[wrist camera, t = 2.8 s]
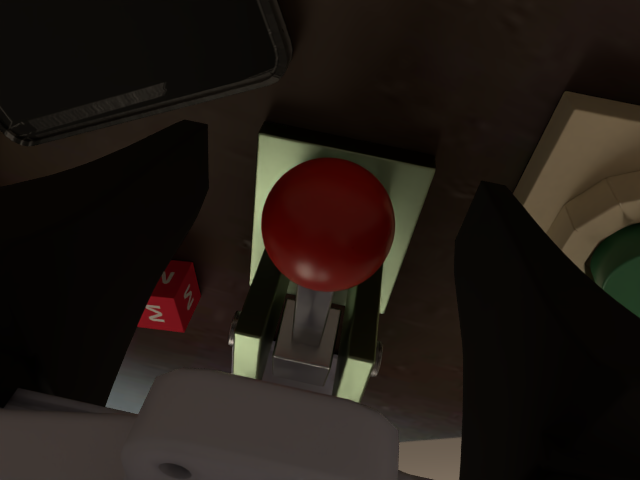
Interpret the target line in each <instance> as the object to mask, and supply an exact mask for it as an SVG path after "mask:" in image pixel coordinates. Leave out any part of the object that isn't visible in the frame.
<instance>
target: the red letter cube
mask: <svg viewBox="0 0 640 480" xmlns="http://www.w3.org/2000/svg"><path fill="white" fill-rule="evenodd" d="M200 297H201V294H200V290H199V286H198V282H197V278H196V274H195V270H194V266H193V262H185V261H176V260H171V261H170V263H169V264H168V266H167V268H166V269H165V271H164V272H163V274H162V276H161V277H160V279H159V281H158V283H157V285H156V287H155V288H154V290H153V292H152V294H151V297H150V299H149V301H148V303H147V305H146V308H145V310H144V312H143V314H142V316H141V319H140V321H139V323H138V325H137V327H143V328H151V329H160V330H168V331H176V332H185V330H186V328H187V325H188V323H189V321H190V319H191V317H192V315H193V312H194V310H195V308H196V306H197V304H198V302H199V299H200Z"/></svg>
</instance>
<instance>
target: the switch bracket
mask: <svg viewBox="0 0 640 480" xmlns="http://www.w3.org/2000/svg"><path fill="white" fill-rule="evenodd" d="M316 158H340V159H344V160H348V161H351V162H354V163H356V164H358V165H360V166H362V167H364V168H365V169H367V170H368V171H369V172H370V173H372V174H373V175H374V176H375V177H376V178H377V179H378V180H379V181H380V183H381V184H382V185H383V187H384V188H385V190H386V191H387V193H388V195H389V197H390V200H391V202H392V206H393V209H394V214H395V235H394V240H393V244H392V247H391V249H390V252H389V254H388V256H387V258H386V259H385V261H384V263H383V264H382V265H381V267H380V268H379V269H378V270H377V271H376V272H375V273H374V274H373V275H372V276H371V277H370V278H368V279H367V280H365V281H364V282H362V283H361V284H359V285H356V286H354V287H352V288H349V289H345V290H341V291H335V293H334V297H333V300H332V303H335V304H339V305H344V306H345V312H344V318H343V325H342V331H341V338H340V345H339V351H338V358H337V364H336V371H335V377H334V384H333V390H332V396H336V397H340V398H345V399H350V400H352V401H355V402H358V403H360V402H361V399H362V396H363V394H364V391H365V388H366V386H367V383H368V380H369V378H370V376H373V377H376V376H377V374H378V372H379V369H380V365H381V360H382V353H383V344H382V342H380V341H377V335H378V323H379V313H381V314H384V313H385V310H386V308H387V305H388V302H389V299H390V297H391V294H392V291H393V288H394V285H395V283H396V280H397V277H398V274H399V271H400V269H401V266H402V263H403V260H404V257H405V255H406V252H407V249H408V246H409V243H410V241H411V238H412V235H413V232H414V229H415V227H416V224H417V221H418V218H419V215H420V213H421V210H422V207H423V204H424V201H425V199H426V196H427V193H428V190H429V187H430V185H431V182H432V179H433V176H434V174H435V171H436V166H435V156H432V155H427V154H422V153H417V152H412V151H408V150H403V149H398V148H393V147H388V146H383V145H378V144H373V143H369V142H364V141H359V140H354V139H349V138H344V137H339V136H334V135H330V134H325V133H320V132H315V131H310V130H305V129H300V128H295V127H291V126H286V125H281V124H276V123H271V122H264V123H263V125H262V127H261V129H260V131H259V133H258V144H257V160H256V176H255V193H254V209H253V225H252V241H251V258H250V274H249V285H250V286H251V287H250V289H249V292H248V295H247V298H246V300H245V303H244V306H243V308H242V311H237V312H236V313H235V315H234V317H233V320H232V323H231V327H230V331H229V337H228V344H229V345H230V346H233V373H232V374H235V375H240V376H244V377H249V378H253V379H258V380H262V377H263V374H264V370H265V367H266V363H267V360H268V356H269V353H270V349H271V346H272V342H273V339H274V335H275V332H276V328H277V324H278V321H279V317H280V314H281V310H282V307H283V303H284V300H285V296H286V293H288V294H292V295H296V288H297V284H296V283H294V282H292V281H291V280H290V279H288V278H287V277H286V276H284V275H283V274H282V273H281V272H280V271H279V270H278V269H277V267H276V266H275V265H274V263H273V262H272V260H271V259H270V257H269V255H268V253H267V251H266V248H265V246H264V242H263V238H262V231H261V219H262V211H263V207H264V204H265V201H266V198H267V196H268V194H269V192H270V191H271V189H272V187H273V186H274V184H275V183H276V182H277V181H278V180H279V179H280V177H281V176H282V175H284V174H285V173H286V172H287V171H289V170H290V169H291V168H293V167H295V166H297V165H299V164H300V163H303V162H306V161H309V160H312V159H316Z"/></svg>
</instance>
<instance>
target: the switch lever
mask: <svg viewBox="0 0 640 480" xmlns="http://www.w3.org/2000/svg"><path fill="white" fill-rule="evenodd" d="M261 231H262V238H263V242H264V246H265V248H266V251H267V253H268V255H269V257H270V259H271V260H272V262H273V263H274V265H275V266H276V267H277V269H278V270H279V271H280V272H281V273H282V274H283V275H284V276H286V277H287V278H288V279H290V280H291V281H292V282H294V283H296V284H297V288H296V298H295V300H294V299H289V298H287V299H286V302H285V306H284V310H283V314H282V318H281V322H280V326H279V330H278V334H277V338H276V342H275V346H274V350H273V354H272V374H273V376H275V377H280V378H285V379H289V380H294V381H298V382H303V383H308V384H312V385H317V386H321V387H323V386H324V385H325V382H326V380H327V377H328V374H329V372H330V369H331V365H332V360H333V354H334V349H335V343H336V338H337V332H338V327H339V321H340V316H341V310H340V309H336V308H331V304H332V300H333V297H334V293H335V291H341V290H345V289H349V288H352V287H354V286H356V285H359V284H361V283H362V282H364V281H365V280H367V279H368V278H370V277H371V276H372V275H373V274H374V273H375V272H376V271H377V270H378V269H379V268H380V267H381V265H382V264H383V263H384V261H385V259H386V258H387V256H388V254H389V252H390V249H391V247H392V244H393V240H394V235H395V214H394V209H393V206H392V202H391V200H390V197H389V195H388V193H387V191H386V190H385V188H384V187H383V185H382V184H381V183H380V181H379V180H378V179H377V178H376V177H375V176H374V175H373V174H372V173H370V172H369V171H368V170H367V169H365V168H364V167H362V166H360V165H358V164H356V163H354V162H351V161H348V160H344V159H340V158H316V159H312V160H309V161H306V162H303V163H300V164H299V165H297V166H295V167H293V168H291V169H290V170H289V171H287V172H286V173H285V174H284V175H282V176H281V177H280V179H279V180H278V181H277V182H276V183H275V184H274V186H273V187H272V189H271V191H270V192H269V194H268V196H267V198H266V201H265V204H264V207H263V211H262V219H261Z"/></svg>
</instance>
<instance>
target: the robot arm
mask: <svg viewBox="0 0 640 480" xmlns="http://www.w3.org/2000/svg"><path fill="white" fill-rule="evenodd" d="M208 189H209V179H208V124H204V123H199V122H194V121H189V120H183V121H180V122H178V123H175V124H173V125H171V126H169V127H167V128H165V129H163V130H161V131H159V132H157V133H155V134H153V135H150V136H148V137H146V138H144V139H142V140H140V141H138V142H136V143H134V144H132V145H130V146H127V147H125V148H123V149H121V150H118V151H116V152H113V153H111V154H109V155H106V156H104V157H102V158H99V159H97V160H95V161H92V162H89V163H87V164H84V165H81V166H78V167H75V168H72V169H69V170H66V171H63V172H59V173H56V174H53V175H49V176H45V177H41V178H37V179H33V180H29V181H24V182H20V183H16V184H12V185H7V186H2V187H0V480H432V479H428V478H423V477H418V476H414V475H410V474H407V473H404V472H402V471H400V470H398V458H399V432H398V429H397V428H396V427H394V426H393V425H392V424H391V423H390V422H389V421H388V420H387V419H386V418H385V417H384V416H383V415H382V414H381V413H380V412H379V411H377V410H376V409H373V408H371V407H368V406H365V405H363V404H360V403H358V402H355V401H352V400H350V399H345V398H340V397H336V396H332V390H333V384H334V377H335V371H336V364H337V358H338V355H336V354H333V360H332V365H331V369H330V372H329V374H328V377H327V380H326V382H325V385H324V386H323V387H321V386H317V385H312V384H308V383H303V382H298V381H294V380H289V379H285V378H280V377H275V376H273V374H272V354H273V350H274V346H275V342H276V341H273V342H272V346H271V349H270V353H269V356H268V360H267V363H266V367H265V370H264V374H263V377H262V380H258V379H253V378H249V377H244V376H240V375H235V374H230V373H226V372H221V371H217V370H212V369H199V368H184V367H183V368H179V369H176V370H173V371H171V372H168V373H166V374H163V375H160V376H158V377H156V378H155V380H154V383H153V385H152V387H151V389H150V391H149V393H148V395H147V397H146V399H145V401H144V403H143V406H142V408H141V410H140V412H139V414H134V413H130V412H125V411H121V410H116V409H112V408H107V407H105V405H106V403H107V400H108V397H109V394H110V392H111V389H112V386H113V384H114V381H115V379H116V376H117V374H118V371H119V369H120V366H121V364H122V361H123V359H124V356H125V354H126V351H127V349H128V346H129V344H130V342H131V339H132V337H133V335H134V332H135V330H136V328H137V325H138V323H139V321H140V319H141V316H142V314H143V312H144V310H145V308H146V305H147V303H148V301H149V299H150V297H151V294H152V292H153V290H154V288H155V287H156V285H157V283H158V281H159V279H160V277H161V276H162V274H163V272H164V271H165V269H166V268H167V266H168V264H169V263H170V261H171V259H172V258H173V256H174V254H175V253H176V251H177V250H178V248H179V246H180V245H181V243H182V241H183V240H184V238H185V236H186V235H187V233H188V231H189V230H190V228H191V226H192V225H193V223H194V221H195V220H196V218H197V216H198V213H199V211H200V209H201V206H202V204H203V201H204V199H205V196H206V194H207V191H208ZM454 276H455V285H456V294H457V303H458V311H459V320H460V328H461V337H462V347H463V419H462V444H461V464H460V477H459V480H640V318H639V317H638V316H636V315H635V314H634V313H632V312H631V311H630V310H628V309H627V308H626V307H624V306H623V305H622V304H620V303H619V302H618V301H616V300H615V299H614V298H613V297H611V296H610V295H609V294H608V293H606V292H605V291H604V290H603V289H602V288H601V287H599V286H598V285H597V284H596V283H595V282H594V281H593V280H591V279H590V278H589V277H588V276H587V275H586V274H585V273H584V272H583V271H581V270H580V269H579V268H578V267H577V266H576V265H575V264H574V263H573V262H572V261H571V260H570V259H569V258H568V257H567V256H566V255H565V254H564V253H563V252H562V250H561V249H560V248H559V247H558V246H557V245H556V244H555V243H554V242H553V241H552V240H551V239H550V237H549V236H548V235H547V234H546V233H545V232H544V231H543V229H542V228H541V227H540V226H539V225H538V224H537V222H536V221H535V220H534V219H533V218H532V216H531V215H530V214H529V213H528V212H527V210H526V209H525V208H524V207H523V205H522V204H521V203H520V202H519V201H518V199H517V198H516V197H515V196H514V195H513V194H512V192H511V191H510V190H509V189H508V188H507V187H506V186H505V185H500V184H495V183H490V182H485V181H481V183H480V185H479V187H478V190H477V192H476V194H475V196H474V199H473V201H472V203H471V205H470V208H469V210H468V212H467V215H466V217H465V219H464V221H463V224H462V226H461V228H460V230H459V233H458V235H457V237H456V240H455V256H454ZM232 373H233V346H232Z"/></svg>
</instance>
